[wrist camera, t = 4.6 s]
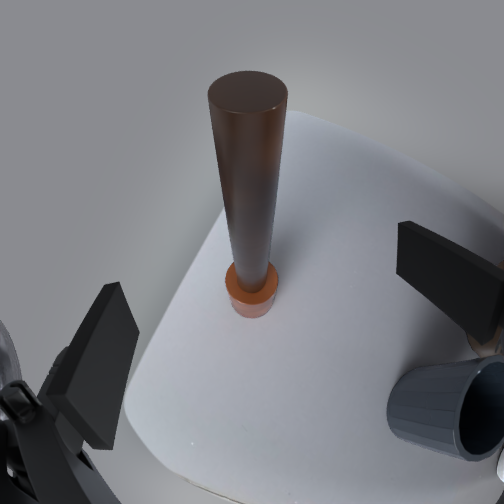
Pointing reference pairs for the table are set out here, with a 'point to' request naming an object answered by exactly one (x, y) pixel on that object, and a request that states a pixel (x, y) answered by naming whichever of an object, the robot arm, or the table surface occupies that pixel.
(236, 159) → the brown rod
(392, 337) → the table surface
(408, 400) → the blue-grey cylindrical holder
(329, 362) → the table surface
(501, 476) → the cat figurine
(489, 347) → the plant pot
